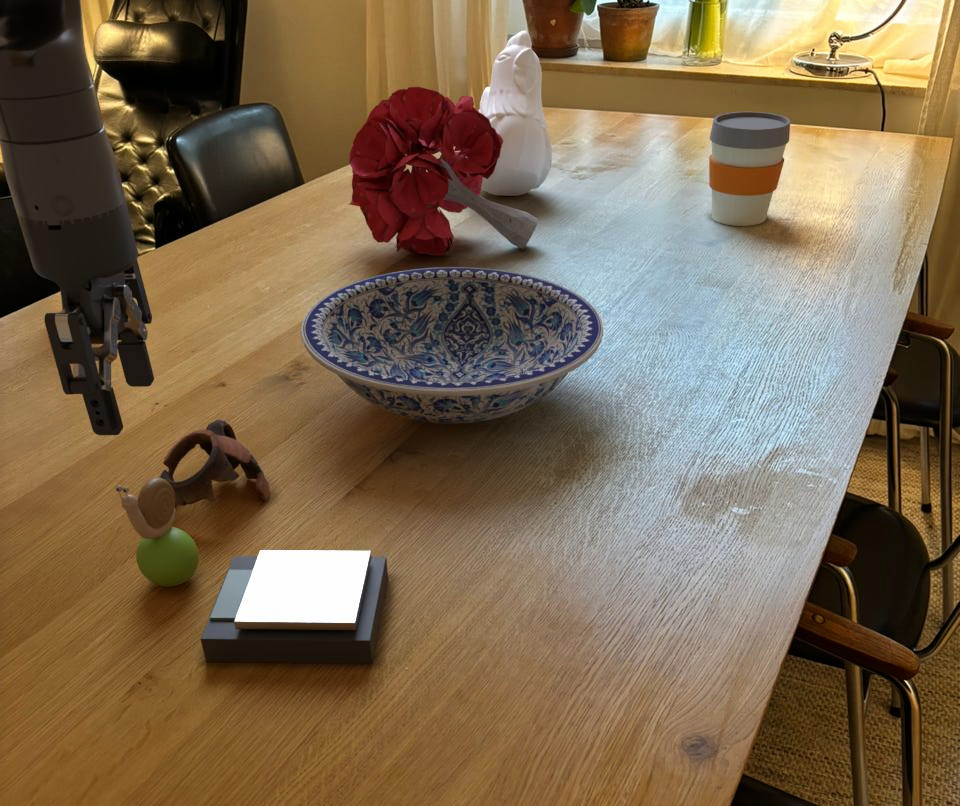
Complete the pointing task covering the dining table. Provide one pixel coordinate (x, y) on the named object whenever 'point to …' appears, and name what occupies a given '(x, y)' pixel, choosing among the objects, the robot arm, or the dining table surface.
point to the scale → (291, 644)
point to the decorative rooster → (517, 120)
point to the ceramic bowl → (452, 340)
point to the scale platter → (304, 590)
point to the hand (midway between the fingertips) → (126, 408)
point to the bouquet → (449, 181)
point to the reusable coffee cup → (745, 165)
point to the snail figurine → (160, 535)
